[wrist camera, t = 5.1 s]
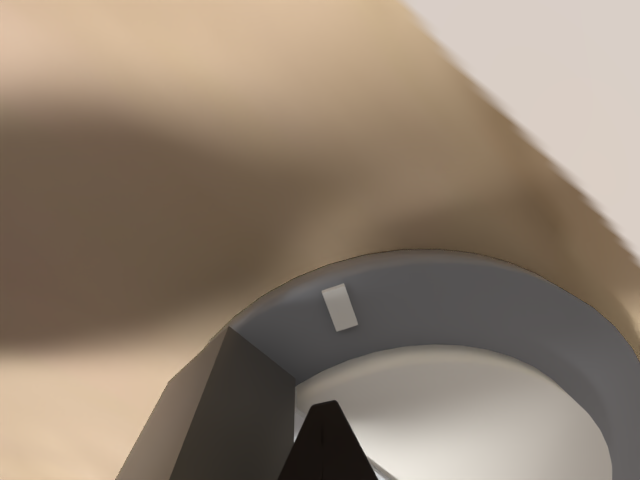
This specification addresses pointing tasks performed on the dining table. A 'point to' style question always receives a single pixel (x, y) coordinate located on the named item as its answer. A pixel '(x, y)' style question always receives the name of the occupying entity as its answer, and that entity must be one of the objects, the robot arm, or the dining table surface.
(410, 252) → the dial base
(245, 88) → the dining table surface
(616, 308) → the dining table surface
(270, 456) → the dial
